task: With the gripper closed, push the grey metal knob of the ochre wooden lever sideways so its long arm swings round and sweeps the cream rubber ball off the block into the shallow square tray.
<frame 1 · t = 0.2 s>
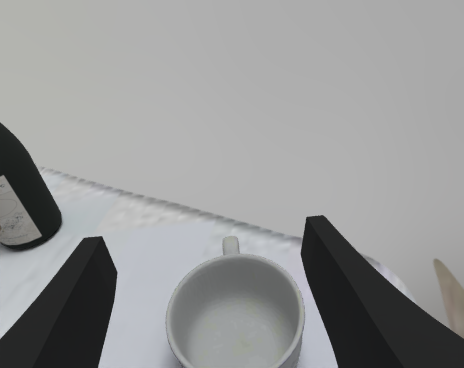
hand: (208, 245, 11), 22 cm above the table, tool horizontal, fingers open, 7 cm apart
wine bottle: (35, 231, 45), on the table
teacup: (241, 337, 31), on the table
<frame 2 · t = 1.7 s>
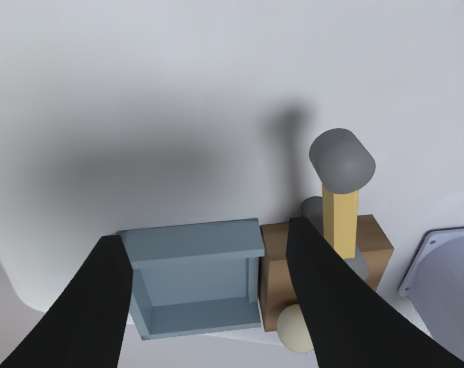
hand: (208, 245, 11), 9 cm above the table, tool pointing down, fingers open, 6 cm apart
block: (309, 259, 28), on the table
lever: (338, 269, 20), point 5 cm above the table, hinge at 10.0°
ball: (293, 307, 26), point 3 cm above the table, touching block
shallow square tray: (195, 268, 27), on the table
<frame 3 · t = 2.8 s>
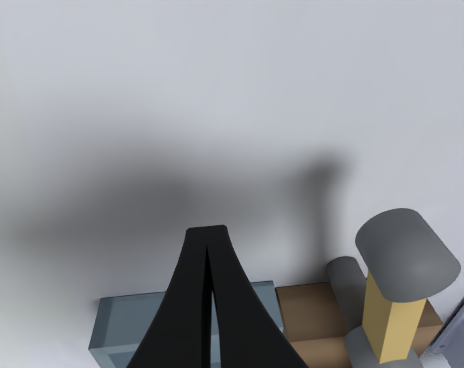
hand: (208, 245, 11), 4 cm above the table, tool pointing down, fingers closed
block: (331, 320, 24), on the table
lever: (380, 361, 16), point 5 cm above the table, hinge at 10.0°
shallow square tray: (196, 332, 23), on the table
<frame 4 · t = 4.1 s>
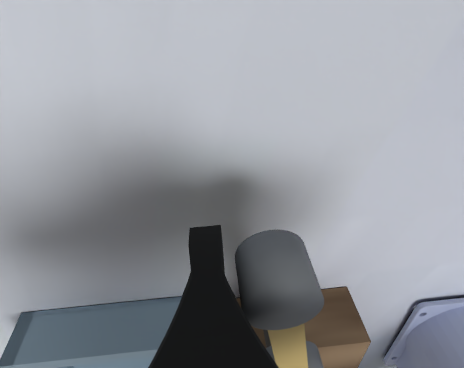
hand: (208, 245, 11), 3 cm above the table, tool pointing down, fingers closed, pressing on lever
block: (273, 332, 23), on the table
shallow square tray: (132, 345, 22), on the table
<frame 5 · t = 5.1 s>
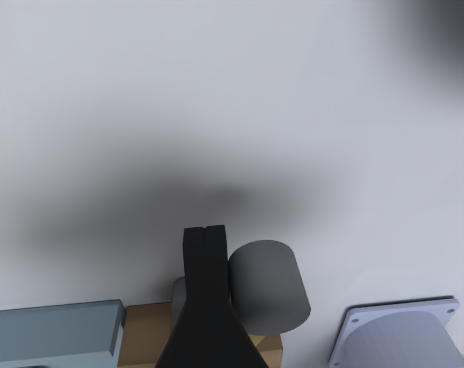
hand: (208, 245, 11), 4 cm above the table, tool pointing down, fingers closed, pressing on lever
block: (206, 338, 23), on the table
shallow square tray: (62, 350, 22), on the table
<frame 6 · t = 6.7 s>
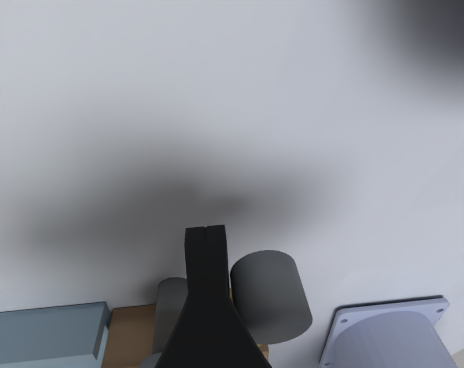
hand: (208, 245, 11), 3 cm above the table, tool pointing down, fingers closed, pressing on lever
block: (195, 339, 23), on the table
shallow square tray: (49, 352, 22), on the table
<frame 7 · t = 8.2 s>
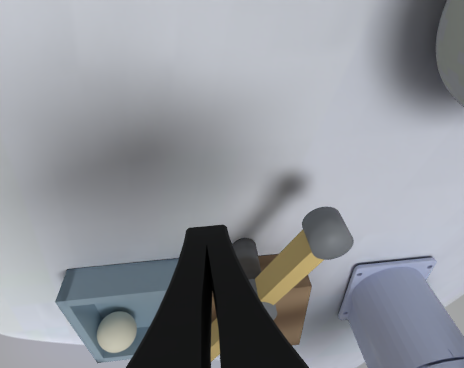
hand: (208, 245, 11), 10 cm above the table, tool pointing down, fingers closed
block: (249, 289, 31), on the table
lever: (248, 307, 23), point 5 cm above the table, hinge at -32.5°
ball: (125, 314, 31), resting on shallow square tray, tilted 17°
shallow square tray: (144, 298, 30), on the table
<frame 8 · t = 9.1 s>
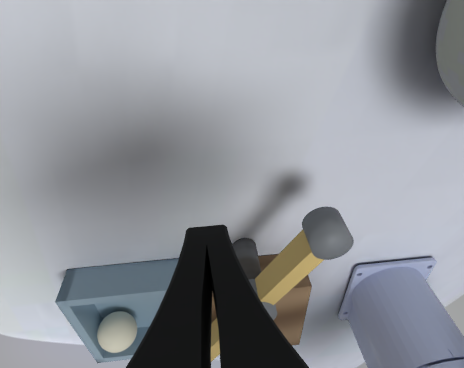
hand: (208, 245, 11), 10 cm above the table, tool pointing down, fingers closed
block: (249, 289, 31), on the table
lever: (248, 307, 23), point 5 cm above the table, hinge at -32.5°
ball: (125, 313, 31), resting on shallow square tray, tilted 16°
shallow square tray: (144, 298, 30), on the table
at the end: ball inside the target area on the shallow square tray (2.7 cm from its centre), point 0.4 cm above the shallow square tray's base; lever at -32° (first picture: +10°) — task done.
